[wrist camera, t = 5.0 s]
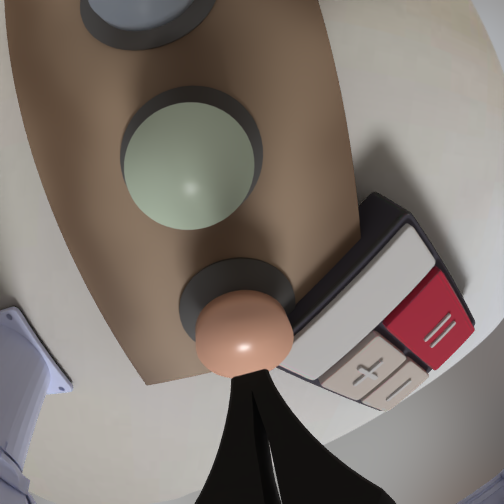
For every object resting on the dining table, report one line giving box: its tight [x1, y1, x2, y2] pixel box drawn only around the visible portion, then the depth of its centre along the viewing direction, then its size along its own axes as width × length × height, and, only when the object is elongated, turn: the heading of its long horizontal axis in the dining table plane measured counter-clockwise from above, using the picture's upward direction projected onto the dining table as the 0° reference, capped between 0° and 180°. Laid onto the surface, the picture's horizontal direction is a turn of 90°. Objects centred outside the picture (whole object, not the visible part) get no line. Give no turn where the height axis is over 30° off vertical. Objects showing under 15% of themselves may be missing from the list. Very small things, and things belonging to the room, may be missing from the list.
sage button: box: [124, 102, 254, 230], centre depth 11 cm, size 4×4×1 cm
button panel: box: [4, 0, 361, 385], centre depth 13 cm, size 14×24×2 cm, turn 13°
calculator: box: [276, 192, 475, 412], centre depth 19 cm, size 11×4×15 cm
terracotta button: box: [195, 290, 294, 378], centre depth 14 cm, size 4×4×1 cm
